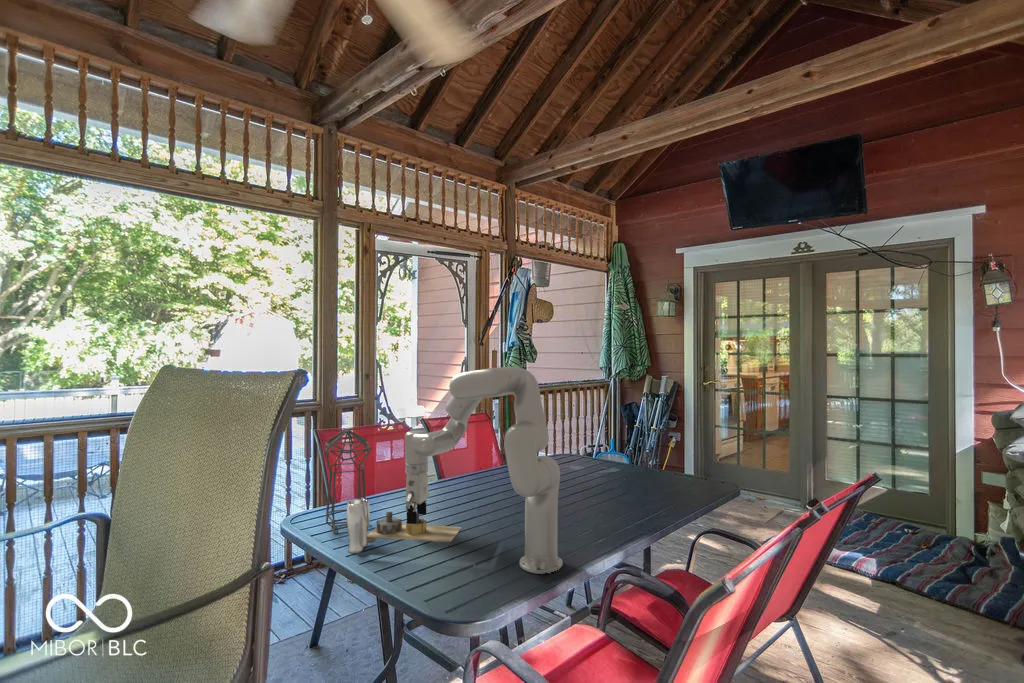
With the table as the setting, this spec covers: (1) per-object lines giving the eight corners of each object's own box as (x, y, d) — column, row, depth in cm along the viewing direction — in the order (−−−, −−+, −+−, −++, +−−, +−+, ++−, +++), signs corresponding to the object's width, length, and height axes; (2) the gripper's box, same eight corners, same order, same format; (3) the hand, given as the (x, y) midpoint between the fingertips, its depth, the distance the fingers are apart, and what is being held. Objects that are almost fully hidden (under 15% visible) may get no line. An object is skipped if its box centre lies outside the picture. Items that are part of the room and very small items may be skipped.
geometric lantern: (366, 519, 191) (368, 425, 190) (370, 535, 176) (373, 432, 176) (320, 524, 185) (323, 426, 185) (321, 540, 170) (323, 434, 170)
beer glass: (361, 543, 167) (361, 497, 167) (374, 549, 163) (374, 501, 163) (341, 550, 162) (342, 502, 162) (354, 556, 157) (355, 506, 158)
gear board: (450, 547, 165) (450, 523, 165) (364, 541, 169) (364, 518, 169) (461, 531, 178) (461, 509, 179) (382, 526, 183) (382, 505, 183)
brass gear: (422, 536, 170) (422, 525, 170) (403, 534, 171) (403, 524, 171) (428, 529, 176) (428, 518, 177) (410, 528, 178) (410, 517, 178)
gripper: (418, 474, 165) (418, 528, 165) (435, 462, 182) (435, 511, 182) (396, 473, 166) (396, 527, 166) (414, 462, 183) (415, 510, 183)
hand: (416, 518), depth 174 cm, fingers open, 9 cm apart
